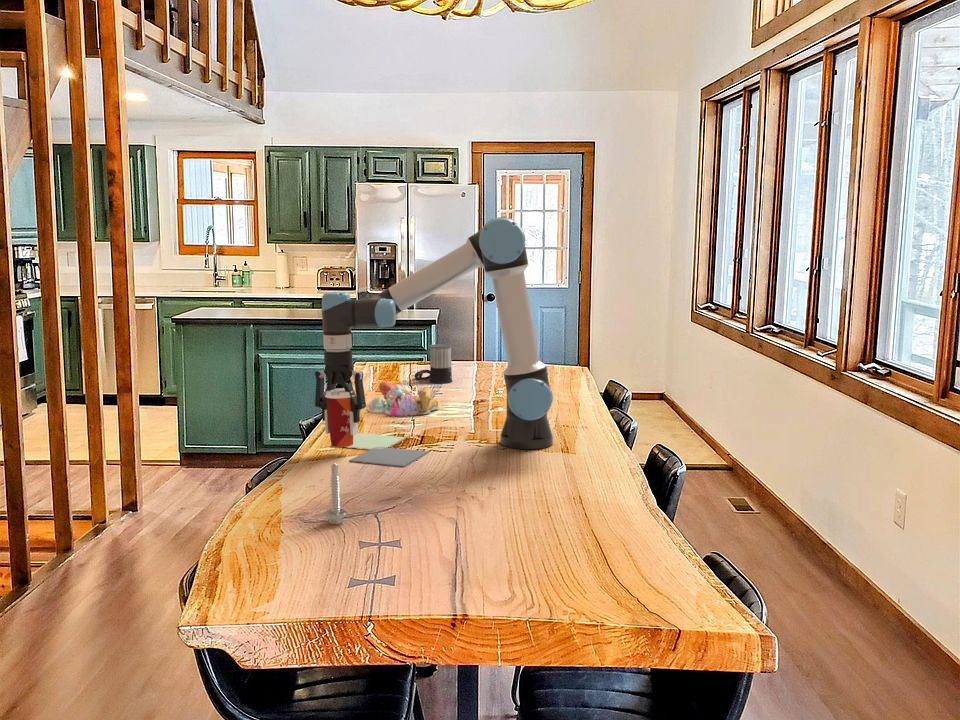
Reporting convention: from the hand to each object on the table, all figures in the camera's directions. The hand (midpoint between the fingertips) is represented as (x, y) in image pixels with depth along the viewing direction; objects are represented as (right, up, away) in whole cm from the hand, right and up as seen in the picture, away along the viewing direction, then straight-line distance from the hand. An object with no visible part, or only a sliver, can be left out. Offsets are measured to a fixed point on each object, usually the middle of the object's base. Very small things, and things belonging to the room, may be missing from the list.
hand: (341, 433), depth 245 cm
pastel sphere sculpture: (+11, +3, +62) cm, 63 cm away
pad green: (+6, -4, +14) cm, 16 cm away
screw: (+7, -15, -56) cm, 58 cm away
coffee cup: (0, -3, 0) cm, 3 cm away
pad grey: (+13, -6, -2) cm, 15 cm away
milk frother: (+19, +11, +118) cm, 120 cm away
